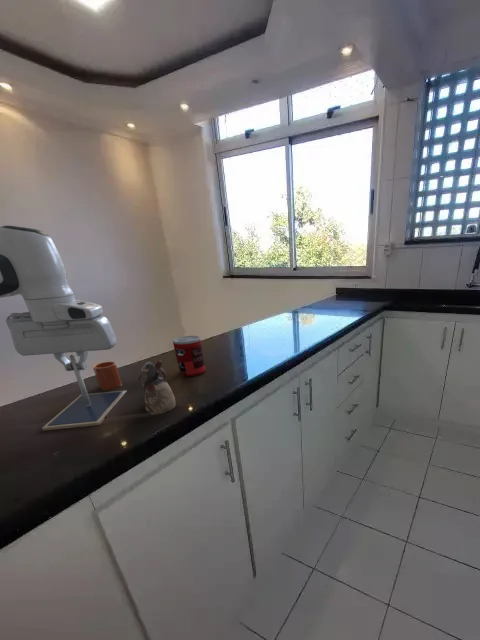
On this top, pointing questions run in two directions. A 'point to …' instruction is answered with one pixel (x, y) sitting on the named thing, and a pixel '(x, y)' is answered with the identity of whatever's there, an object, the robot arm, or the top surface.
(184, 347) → the canned food
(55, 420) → the tablet
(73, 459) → the top surface
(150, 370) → the figurine
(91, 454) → the top surface
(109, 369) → the pen cup
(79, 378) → the stylus
